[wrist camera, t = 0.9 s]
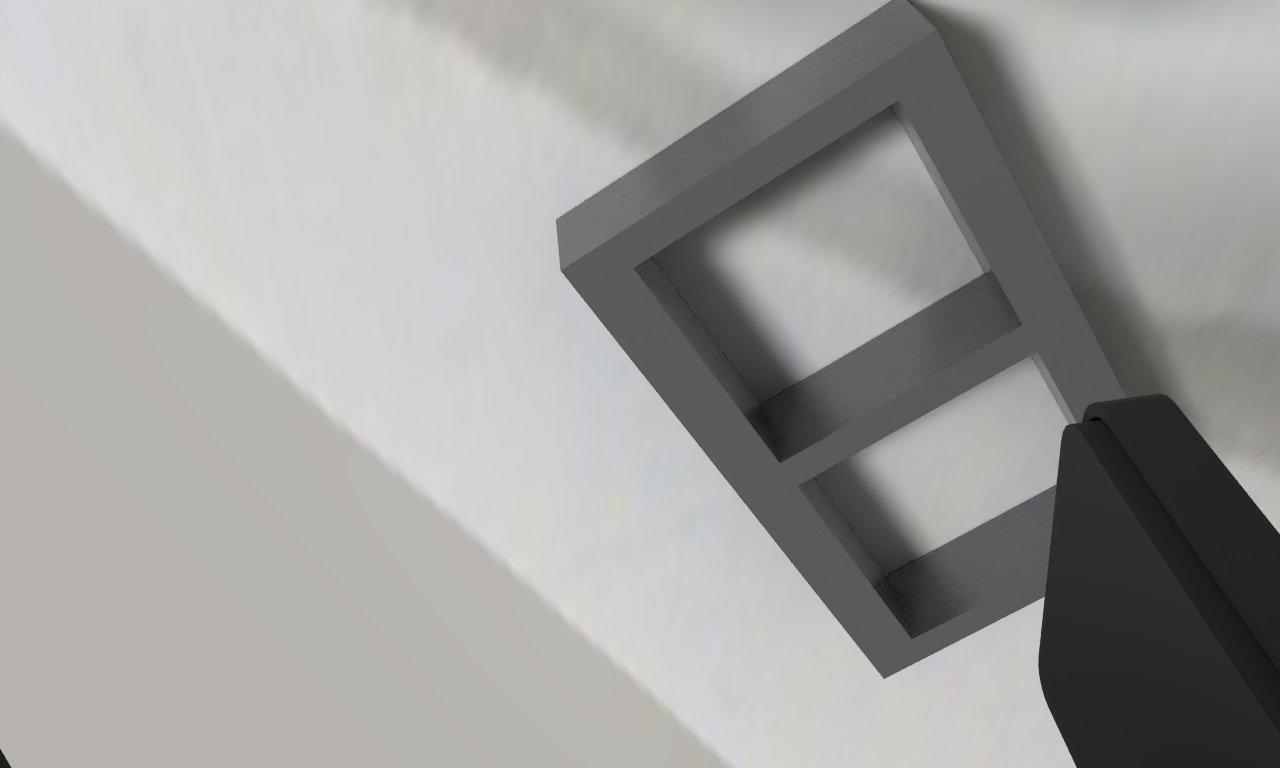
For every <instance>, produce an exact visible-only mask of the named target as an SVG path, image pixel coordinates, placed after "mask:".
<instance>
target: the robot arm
mask: <svg viewBox="0 0 1280 768" xmlns="http://www.w3.org/2000/svg"><path fill="white" fill-rule="evenodd" d="M1038 666H1039V676H1040V681H1041V686H1042V690H1043V694H1044V697H1045V700H1046V702H1047V705H1048V707H1049V709H1050V711H1051V713H1052V716H1053V718H1054V720H1055V722H1056V724H1057V726H1058V728H1059V731H1060V733H1061V735H1062V737H1063V739H1064V741H1065V743H1066V746H1067V748H1068V750H1069V752H1070V754H1071V756H1072V758H1073V761H1074V763H1075V765H1076V767H1077V768H1280V534H1279V533H1278V531H1277V530H1276V529H1275V528H1274V526H1273V525H1272V524H1271V523H1270V521H1269V520H1268V519H1267V518H1266V516H1265V515H1264V514H1263V513H1262V511H1261V510H1260V509H1259V508H1258V506H1257V505H1256V504H1255V503H1254V501H1253V500H1252V499H1251V498H1250V496H1249V495H1248V494H1247V493H1246V491H1245V490H1244V489H1243V488H1242V486H1241V485H1240V484H1239V483H1238V481H1237V480H1236V479H1235V478H1234V476H1233V475H1232V474H1231V473H1230V471H1229V470H1228V469H1227V468H1226V466H1225V465H1224V464H1223V463H1222V461H1221V460H1220V459H1219V458H1218V456H1217V455H1216V454H1215V453H1214V451H1213V450H1212V449H1211V448H1210V446H1209V445H1208V444H1207V443H1206V441H1205V440H1204V439H1203V438H1202V436H1201V435H1200V434H1199V433H1198V431H1197V430H1196V429H1195V428H1194V426H1193V425H1192V424H1191V423H1190V421H1189V420H1188V419H1187V418H1186V416H1185V415H1184V414H1183V412H1182V411H1181V410H1180V409H1179V407H1178V406H1177V405H1176V404H1175V403H1174V402H1173V401H1172V400H1171V399H1170V398H1169V397H1168V396H1166V395H1162V394H1155V395H1147V396H1140V397H1132V398H1125V399H1117V400H1109V401H1102V402H1094V403H1092V404H1090V405H1088V406H1087V408H1086V410H1085V412H1084V414H1083V419H1082V422H1081V423H1073V424H1069V425H1067V426H1066V427H1065V429H1064V431H1063V435H1062V440H1061V448H1060V458H1059V468H1058V477H1057V487H1056V496H1055V506H1054V515H1053V525H1052V534H1051V544H1050V553H1049V563H1048V572H1047V582H1046V591H1045V601H1044V610H1043V620H1042V629H1041V639H1040V648H1039V663H1038ZM0 768H11V766H10V765H9V763H8V761H7V760H6V758H5V756H4V755H3V753H2V751H1V749H0Z"/></svg>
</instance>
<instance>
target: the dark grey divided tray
mask: <svg viewBox="0 0 1280 768" xmlns="http://www.w3.org/2000/svg"><path fill="white" fill-rule="evenodd" d="M889 106H892V108H893V109H894V111H895V113H896V115H897V117H898V118H899V120H900V122H901V124H902V126H903V127H904V129H905V131H906V133H907V135H908V136H909V138H910V140H911V142H912V144H913V145H914V147H915V149H916V151H917V153H918V154H919V156H920V158H921V160H922V161H923V163H924V165H925V167H926V169H927V170H928V172H929V174H930V176H931V178H932V179H933V181H934V183H935V185H936V187H937V188H938V190H939V192H940V194H941V196H942V197H943V199H944V201H945V203H946V205H947V206H948V208H949V210H950V212H951V214H952V215H953V217H954V219H955V221H956V222H957V224H958V226H959V228H960V230H961V231H962V233H963V235H964V237H965V239H966V240H967V242H968V244H969V246H970V248H971V249H972V251H973V253H974V255H975V257H976V258H977V260H978V262H979V264H980V266H981V267H982V269H983V271H984V273H985V274H984V275H982V276H980V277H978V278H977V279H975V280H973V281H972V282H970V283H968V284H966V285H965V286H963V287H961V288H960V289H958V290H956V291H954V292H953V293H951V294H949V295H948V296H946V297H944V298H943V299H941V300H939V301H937V302H936V303H934V304H932V305H931V306H929V307H927V308H925V309H924V310H922V311H920V312H919V313H917V314H915V315H913V316H912V317H910V318H908V319H907V320H905V321H903V322H901V323H900V324H898V325H896V326H895V327H893V328H891V329H889V330H888V331H886V332H884V333H883V334H881V335H879V336H878V337H876V338H874V339H872V340H871V341H869V342H867V343H866V344H864V345H862V346H860V347H859V348H857V349H855V350H854V351H852V352H850V353H848V354H847V355H845V356H843V357H842V358H840V359H838V360H836V361H835V362H833V363H831V364H830V365H828V366H826V367H825V368H823V369H821V370H819V371H818V372H816V373H814V374H813V375H811V376H809V377H807V378H806V379H804V380H802V381H801V382H799V383H797V384H795V385H794V386H792V387H790V388H789V389H787V390H785V391H783V392H782V393H780V394H778V395H777V396H775V397H773V398H771V399H770V400H768V401H766V402H765V403H763V404H761V405H760V403H759V402H758V401H757V399H756V398H755V397H754V395H753V394H752V392H751V391H750V390H749V388H748V387H747V386H746V384H745V383H744V382H743V380H742V379H741V377H740V376H739V375H738V373H737V372H736V371H735V369H734V368H733V367H732V365H731V364H730V363H729V361H728V360H727V358H726V357H725V356H724V354H723V353H722V352H721V350H720V349H719V348H718V346H717V345H716V344H715V342H714V341H713V339H712V338H711V337H710V335H709V334H708V333H707V331H706V330H705V329H704V327H703V326H702V324H701V323H700V322H699V320H698V319H697V318H696V316H695V315H694V314H693V312H692V311H691V310H690V308H689V307H688V305H687V304H686V303H685V301H684V300H683V299H682V297H681V296H680V295H679V293H678V292H677V290H676V289H675V288H674V286H673V285H672V284H671V282H670V281H669V280H668V278H667V277H666V276H665V274H664V273H663V271H662V270H661V269H660V267H659V266H658V265H657V263H656V262H655V261H654V259H653V258H652V257H651V256H653V255H655V254H656V253H658V252H659V251H661V250H662V249H664V248H666V247H667V246H669V245H670V244H672V243H674V242H675V241H677V240H678V239H680V238H681V237H683V236H685V235H686V234H688V233H689V232H691V231H693V230H694V229H696V228H697V227H699V226H700V225H702V224H704V223H705V222H707V221H708V220H710V219H712V218H713V217H715V216H716V215H718V214H719V213H721V212H723V211H724V210H726V209H727V208H729V207H731V206H732V205H734V204H735V203H737V202H738V201H740V200H742V199H743V198H745V197H746V196H748V195H750V194H751V193H753V192H754V191H756V190H757V189H759V188H761V187H762V186H764V185H765V184H767V183H769V182H770V181H772V180H773V179H775V178H776V177H778V176H780V175H781V174H783V173H784V172H786V171H788V170H789V169H791V168H792V167H794V166H796V165H797V164H799V163H800V162H802V161H803V160H805V159H807V158H808V157H810V156H811V155H813V154H815V153H816V152H818V151H819V150H821V149H822V148H824V147H826V146H827V145H829V144H830V143H832V142H834V141H835V140H837V139H838V138H840V137H841V136H843V135H845V134H846V133H848V132H849V131H851V130H853V129H854V128H856V127H857V126H859V125H860V124H862V123H864V122H865V121H867V120H868V119H870V118H872V117H873V116H875V115H876V114H878V113H879V112H881V111H883V110H884V109H886V108H887V107H889ZM556 224H557V235H558V246H559V257H560V269H561V271H562V273H563V274H564V275H565V277H566V278H567V279H568V280H569V282H570V283H571V284H572V285H573V287H574V288H575V289H576V290H577V292H578V293H579V294H580V295H581V297H582V298H583V299H584V301H585V302H586V303H587V304H588V306H589V307H590V308H591V309H592V311H593V312H594V313H595V314H596V316H597V317H598V318H599V319H600V321H601V322H602V323H603V325H604V326H605V327H606V328H607V330H608V331H609V332H610V333H611V335H612V336H613V337H614V338H615V340H616V341H617V342H618V343H619V345H620V346H621V347H622V349H623V350H624V351H625V352H626V354H627V355H628V356H629V357H630V359H631V360H632V361H633V362H634V364H635V365H636V366H637V367H638V369H639V370H640V371H641V373H642V374H643V375H644V376H645V378H646V379H647V380H648V381H649V383H650V384H651V385H652V386H653V388H654V389H655V390H656V391H657V393H658V394H659V395H660V397H661V398H662V399H663V400H664V402H665V403H666V404H667V405H668V407H669V408H670V409H671V410H672V412H673V413H674V414H675V415H676V417H677V418H678V419H679V421H680V422H681V423H682V424H683V426H684V427H685V428H686V429H687V431H688V432H689V433H690V434H691V436H692V437H693V438H694V439H695V441H696V442H697V443H698V445H699V446H700V447H701V448H702V450H703V451H704V452H705V453H706V455H707V456H708V457H709V458H710V460H711V461H712V462H713V463H714V465H715V466H716V467H717V469H718V470H719V471H720V472H721V474H722V475H723V476H724V477H725V479H726V480H727V481H728V482H729V484H730V485H731V486H732V487H733V489H734V490H735V491H736V493H737V494H738V495H739V496H740V498H741V499H742V500H743V501H744V503H745V504H746V505H747V506H748V508H749V509H750V510H751V511H752V513H753V514H754V515H755V517H756V518H757V519H758V520H759V522H760V523H761V524H762V525H763V527H764V528H765V529H766V530H767V532H768V533H769V534H770V535H771V537H772V538H773V539H774V541H775V542H776V543H777V544H778V546H779V547H780V548H781V549H782V551H783V552H784V553H785V554H786V556H787V557H788V558H789V559H790V561H791V562H792V563H793V565H794V566H795V567H796V568H797V570H798V571H799V572H800V573H801V575H802V576H803V577H804V578H805V580H806V581H807V582H808V583H809V585H810V586H811V587H812V589H813V590H814V591H815V592H816V594H817V595H818V596H819V597H820V599H821V600H822V601H823V602H824V604H825V605H826V606H827V607H828V609H829V610H830V611H831V613H832V614H833V615H834V616H835V618H836V619H837V620H838V621H839V623H840V624H841V625H842V626H843V628H844V629H845V630H846V631H847V633H848V634H849V635H850V637H851V638H852V639H853V640H854V642H855V643H856V644H857V645H858V647H859V648H860V649H861V650H862V652H863V653H864V654H865V655H866V657H867V658H868V659H869V661H870V662H871V663H872V664H873V666H874V667H875V668H876V669H877V671H878V672H879V673H880V674H881V676H882V677H883V678H884V679H885V678H887V677H889V676H891V675H893V674H895V673H897V672H899V671H901V670H902V669H904V668H906V667H908V666H910V665H912V664H914V663H916V662H918V661H920V660H922V659H924V658H926V657H928V656H930V655H932V654H934V653H936V652H938V651H940V650H942V649H943V648H945V647H947V646H949V645H951V644H953V643H955V642H957V641H959V640H961V639H963V638H965V637H967V636H969V635H971V634H973V633H975V632H977V631H979V630H981V629H982V628H984V627H986V626H988V625H990V624H992V623H994V622H996V621H998V620H1000V619H1002V618H1004V617H1006V616H1008V615H1010V614H1012V613H1014V612H1016V611H1018V610H1020V609H1021V608H1023V607H1025V606H1027V605H1029V604H1031V603H1033V602H1035V601H1037V600H1039V599H1041V598H1043V597H1045V591H1046V582H1047V572H1048V563H1049V553H1050V544H1051V534H1052V525H1053V515H1054V506H1055V496H1056V487H1057V485H1056V486H1054V487H1052V488H1050V489H1048V490H1047V491H1045V492H1043V493H1041V494H1039V495H1037V496H1035V497H1033V498H1032V499H1030V500H1028V501H1026V502H1024V503H1022V504H1020V505H1018V506H1017V507H1015V508H1013V509H1011V510H1009V511H1007V512H1005V513H1003V514H1002V515H1000V516H998V517H996V518H994V519H992V520H990V521H988V522H987V523H985V524H983V525H981V526H979V527H977V528H975V529H973V530H972V531H970V532H968V533H966V534H964V535H962V536H960V537H958V538H957V539H955V540H953V541H951V542H949V543H947V544H945V545H944V546H942V547H940V548H938V549H936V550H934V551H932V552H930V553H929V554H927V555H925V556H923V557H921V558H919V559H917V560H915V561H914V562H912V563H910V564H908V565H906V566H904V567H902V568H900V569H899V570H897V571H895V572H893V573H891V574H889V575H887V576H886V575H885V573H884V572H883V570H882V569H881V568H880V566H879V565H878V564H877V562H876V561H875V560H874V558H873V557H872V556H871V554H870V553H869V551H868V550H867V549H866V547H865V546H864V545H863V543H862V542H861V541H860V539H859V538H858V537H857V535H856V534H855V532H854V531H853V530H852V528H851V527H850V526H849V524H848V523H847V522H846V520H845V519H844V517H843V516H842V515H841V513H840V512H839V511H838V509H837V508H836V507H835V505H834V504H833V503H832V501H831V500H830V498H829V497H828V496H827V494H826V493H825V492H824V490H823V489H822V488H821V486H820V485H819V484H818V482H817V481H816V479H815V478H814V477H815V476H816V475H818V474H820V473H822V472H823V471H825V470H827V469H829V468H831V467H832V466H834V465H836V464H838V463H839V462H841V461H843V460H845V459H847V458H848V457H850V456H852V455H854V454H855V453H857V452H859V451H861V450H863V449H864V448H866V447H868V446H870V445H871V444H873V443H875V442H877V441H879V440H880V439H882V438H884V437H886V436H887V435H889V434H891V433H893V432H895V431H896V430H898V429H900V428H902V427H903V426H905V425H907V424H909V423H911V422H912V421H914V420H916V419H918V418H919V417H921V416H923V415H925V414H927V413H928V412H930V411H932V410H934V409H935V408H937V407H939V406H941V405H942V404H944V403H946V402H948V401H950V400H951V399H953V398H955V397H957V396H958V395H960V394H962V393H964V392H966V391H967V390H969V389H971V388H973V387H974V386H976V385H978V384H980V383H982V382H983V381H985V380H987V379H989V378H990V377H992V376H994V375H996V374H998V373H999V372H1001V371H1003V370H1005V369H1006V368H1008V367H1010V366H1012V365H1014V364H1015V363H1017V362H1019V361H1021V360H1022V359H1024V358H1026V357H1028V356H1030V355H1031V357H1032V359H1033V361H1034V362H1035V364H1036V366H1037V368H1038V370H1039V371H1040V373H1041V375H1042V377H1043V379H1044V380H1045V382H1046V384H1047V386H1048V387H1049V389H1050V391H1051V393H1052V395H1053V396H1054V398H1055V400H1056V402H1057V404H1058V405H1059V407H1060V409H1061V411H1062V413H1063V414H1064V416H1065V418H1066V420H1067V422H1068V423H1069V424H1073V423H1081V422H1082V419H1083V414H1084V412H1085V410H1086V408H1087V406H1088V405H1090V404H1092V403H1094V402H1102V401H1109V400H1117V399H1125V398H1127V397H1126V395H1125V393H1124V391H1123V389H1122V387H1121V385H1120V383H1119V381H1118V379H1117V378H1116V376H1115V374H1114V372H1113V370H1112V368H1111V366H1110V364H1109V362H1108V360H1107V358H1106V356H1105V354H1104V352H1103V350H1102V348H1101V346H1100V344H1099V343H1098V341H1097V339H1096V337H1095V335H1094V333H1093V331H1092V329H1091V327H1090V325H1089V323H1088V321H1087V319H1086V317H1085V315H1084V313H1083V311H1082V309H1081V307H1080V306H1079V304H1078V302H1077V300H1076V298H1075V296H1074V294H1073V292H1072V290H1071V288H1070V286H1069V284H1068V282H1067V280H1066V278H1065V276H1064V274H1063V272H1062V271H1061V269H1060V267H1059V265H1058V263H1057V261H1056V259H1055V257H1054V255H1053V253H1052V251H1051V249H1050V247H1049V245H1048V243H1047V241H1046V239H1045V237H1044V236H1043V234H1042V232H1041V230H1040V228H1039V226H1038V224H1037V222H1036V220H1035V218H1034V216H1033V214H1032V212H1031V210H1030V208H1029V206H1028V204H1027V202H1026V201H1025V199H1024V197H1023V195H1022V193H1021V191H1020V189H1019V187H1018V185H1017V183H1016V181H1015V179H1014V177H1013V175H1012V173H1011V171H1010V169H1009V167H1008V166H1007V164H1006V162H1005V160H1004V158H1003V156H1002V154H1001V152H1000V150H999V148H998V146H997V144H996V142H995V140H994V138H993V136H992V134H991V132H990V131H989V129H988V127H987V125H986V123H985V121H984V119H983V117H982V115H981V113H980V111H979V109H978V107H977V105H976V103H975V101H974V99H973V97H972V95H971V94H970V92H969V90H968V88H967V86H966V84H965V82H964V80H963V78H962V76H961V74H960V72H959V70H958V68H957V66H956V64H955V62H954V60H953V59H952V57H951V55H950V53H949V51H948V49H947V47H946V45H945V43H944V41H943V39H942V37H941V35H940V33H939V31H938V29H937V28H936V27H935V26H934V25H933V24H932V23H930V22H929V21H928V20H927V19H926V18H925V17H924V16H923V15H922V14H921V13H920V12H919V11H918V10H917V9H916V8H915V7H914V6H913V5H912V4H910V3H909V2H908V1H907V0H892V1H891V2H889V3H887V4H886V5H884V6H883V7H881V8H880V9H878V10H877V11H875V12H874V13H872V14H871V15H869V16H868V17H866V18H865V19H863V20H861V21H860V22H858V23H857V24H855V25H854V26H852V27H851V28H849V29H848V30H846V31H845V32H843V33H842V34H840V35H838V36H837V37H835V38H834V39H832V40H831V41H829V42H828V43H826V44H825V45H823V46H822V47H820V48H819V49H817V50H816V51H814V52H812V53H811V54H809V55H808V56H806V57H805V58H803V59H802V60H800V61H799V62H797V63H796V64H794V65H793V66H791V67H789V68H788V69H786V70H785V71H783V72H782V73H780V74H779V75H777V76H776V77H774V78H773V79H771V80H770V81H768V82H766V83H765V84H763V85H762V86H760V87H759V88H757V89H756V90H754V91H753V92H751V93H750V94H748V95H747V96H745V97H744V98H742V99H740V100H739V101H737V102H736V103H734V104H733V105H731V106H730V107H728V108H727V109H725V110H724V111H722V112H721V113H719V114H717V115H716V116H714V117H713V118H711V119H710V120H708V121H707V122H705V123H704V124H702V125H701V126H699V127H698V128H696V129H695V130H693V131H691V132H690V133H688V134H687V135H685V136H684V137H682V138H681V139H679V140H678V141H676V142H675V143H673V144H672V145H670V146H668V147H667V148H665V149H664V150H662V151H661V152H659V153H658V154H656V155H655V156H653V157H652V158H650V159H649V160H647V161H645V162H644V163H642V164H641V165H639V166H638V167H636V168H635V169H633V170H632V171H630V172H629V173H627V174H626V175H624V176H623V177H621V178H619V179H618V180H616V181H615V182H613V183H612V184H610V185H609V186H607V187H606V188H604V189H603V190H601V191H600V192H598V193H596V194H595V195H593V196H592V197H590V198H589V199H587V200H586V201H584V202H583V203H581V204H580V205H578V206H577V207H575V208H574V209H572V210H570V211H569V212H567V213H566V214H564V215H563V216H561V217H560V218H558V219H557V220H556Z"/></svg>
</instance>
